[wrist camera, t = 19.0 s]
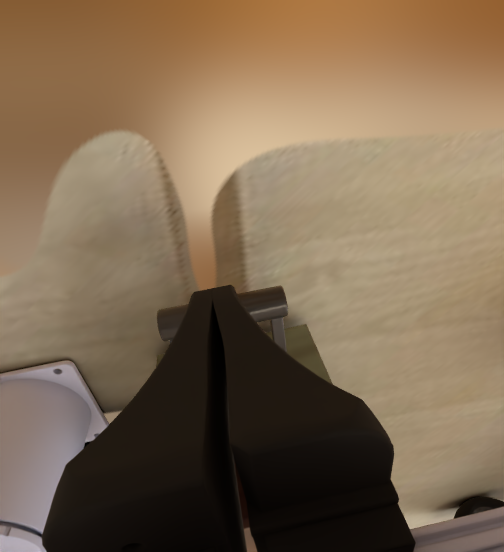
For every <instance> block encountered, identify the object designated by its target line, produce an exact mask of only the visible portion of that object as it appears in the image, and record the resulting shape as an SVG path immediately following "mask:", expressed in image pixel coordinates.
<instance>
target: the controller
mask: <svg viewBox="0 0 504 552" xmlns="http://www.w3.org/2000/svg"><path fill="white" fill-rule="evenodd" d="M501 507H504V502H503V501H500V500H497V499H493V498H488V497H477V498H472V499H470V500H467V501H466V502H465V503H463V504H462V505H461V506H460V507H459V509H458V510H457V512H456V514H455V516H454V519H456V518H460V517H464V516H468V515H472V514H476V513H480V512H484V511H488V510H492V509H497V508H501Z"/></svg>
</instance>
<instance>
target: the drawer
mask: <svg viewBox="0 0 504 552" xmlns="http://www.w3.org/2000/svg"><path fill="white" fill-rule="evenodd" d="M237 296H238V298H239V299H240V301H241V302H242V304H243V305H244V307H245V308H246V310H247V311H248V312H249V314H250V315H251V316H252V318H253V319H254V320H255V321H256V322H260V321H265V320H270V323H271V331H272V332H267V333H266V334H267V335H268V336H269V337H270V338H271V339H272V340H273V341H274V342H275V343H276V344H278V345H279V346H280V347H281V348H282V349H283V350H284V351H285V352H287V353H288V354H289V355H290V356H292V357H293V358H294V359H295V360H297V361H298V362H299V363H301V364H302V365H304V366H305V367H306V368H308V369H309V370H311V371H312V372H314V373H315V374H316V375H318V376H319V377H321V378H323V379H324V380H326V381H328V382H329V383H331V384H332V382H331V379H330V377H329V375H328V372H327V370H326V368H325V366H324V363H323V361H322V359H321V357H320V354H319V352H318V350H317V347H316V345H315V343H314V341H313V338H312V336H311V334H310V331H309V329H308V327H307V325H306V324H305V325H300V326H296V327H291V328H286V329H284V322H283V317H285V316H287V315H288V306H287V301H286V296H285V293H284V290H283V287H282V286H276V287H271V288H266V289H261V290H256V291H251V292H246V293H241V294H237ZM188 305H189V304H186V305H181V306H176V307H171V308H166V309H161V310H158V313H157V323H158V329H159V333H160V336H161V338H162V340H163V341H168V340H170V343H171V342H172V340H173V338H174V336H175V334H176V332H177V330H178V328H179V326H180V324H181V322H182V320H183V317H184V315H185V312H186V310H187V307H188ZM163 356H164V354H161V355H158V356H157V365H156V367H157V366H158V364H159V363H160V361H161V359H162V358H163ZM234 464H235V471H236V478H237V485H238V492H239V499H240V506H241V513H242V519H245V518H248V510H247V503H246V498H245V494H244V491H243V488H242V484H241V481H240V477H239V474H238V470H237V467H236V463H235V460H234Z"/></svg>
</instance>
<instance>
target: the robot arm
mask: <svg viewBox="0 0 504 552" xmlns="http://www.w3.org/2000/svg"><path fill="white" fill-rule="evenodd" d="M58 369H60V370H58ZM88 441H92V442H91V443H89V444H88V445H87V446H86V447H85V448H84V445H85V442H88ZM393 459H394V448H393V445H392V443H391V441H390V438H389V437H388V435H387V433H386V431H385V430H384V428H383V427H382V425H381V424H380V422H379V421H378V420H377V418H376V417H375V415H374V414H373V413H372V411H371V410H370V409H369V408H368V406H367V405H366V404H365V403H364V401H363V400H362V399H360V398H358V397H356V396H354V395H352V394H350V393H348V392H346V391H344V390H342V389H340V388H338V387H336V386H334V385H333V384H331V383H329V382H328V381H326V380H324V379H323V378H321V377H319V376H318V375H316V374H315V373H314V372H312V371H311V370H309V369H308V368H306V367H305V366H304V365H302V364H301V363H299V362H298V361H297V360H295V359H294V358H293V357H292V356H290V355H289V354H288V353H287V352H285V351H284V350H283V349H282V348H281V347H280V346H279V345H278V344H276V343H275V342H274V341H273V340H272V339H271V338H270V337H269V336H268V335H267V334H266V333H265V331H264V330H263V329H262V328H261V327H260V326H259V325H258V324H257V322H256V321H255V320H254V319H253V318H252V316H251V315H250V314H249V312H248V311H247V310H246V308H245V307H244V305H243V304H242V302H241V301H240V299H239V298H238V296H237V294H236V292H235V289H234V287H233V286H231V285H227V286H222V287H217V288H212V289H207V290H202V291H197V292H194V293H193V294H192V296H191V299H190V302H189V305H188V307H187V310H186V312H185V315H184V317H183V320H182V322H181V324H180V326H179V328H178V330H177V332H176V334H175V336H174V338H173V340H172V342H171V344H170V345H169V347H168V349H167V351H166V353H165V354H164V356H163V358H162V359H161V361H160V363H159V364H158V366H157V367H156V369H155V370H154V372H153V373H152V374H151V376H150V377H149V379H148V380H147V381H146V383H145V384H144V385H143V387H142V388H141V389H140V390H139V392H138V393H137V394H136V396H135V397H134V398H133V399H132V400H131V402H130V403H129V404H128V405H127V406H126V407H125V409H124V410H123V411H122V412H121V413H120V414H119V415H118V416H117V417H116V418H115V419H114V420H113V421H112V422H111V423H110V424H109V423H108V421H107V419H106V418H105V416H104V414H103V412H102V411H101V409H100V407H99V406H98V404H97V402H96V400H95V399H94V397H93V395H92V393H91V392H90V390H89V388H88V386H87V385H86V383H85V381H84V380H83V378H82V376H81V374H80V373H79V371H78V369H77V367H76V366H75V364H74V363H73V362H71V361H60V362H55V363H50V364H45V365H40V366H35V367H31V368H26V369H21V370H16V371H11V372H6V373H1V374H0V552H247V547H246V540H245V533H244V527H243V520H242V513H241V506H240V499H239V492H238V485H237V478H236V471H235V464H234V460H235V463H236V467H237V470H238V474H239V477H240V481H241V484H242V488H243V491H244V494H245V498H246V503H247V510H248V518H249V526H250V532H251V537H253V539H254V542H255V546H256V549H257V552H504V507H501V508H497V509H492V510H488V511H484V512H480V513H476V514H472V515H468V516H464V517H460V518H456V519H451V520H447V521H443V522H439V523H435V524H431V525H427V526H423V527H419V528H414V529H409V527H408V525H407V523H406V520H405V518H404V516H403V514H402V512H401V510H400V508H399V505H398V502H399V498H398V494H397V492H396V490H395V488H394V486H393V484H392V482H391V480H390V479H391V472H392V465H393Z"/></svg>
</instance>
